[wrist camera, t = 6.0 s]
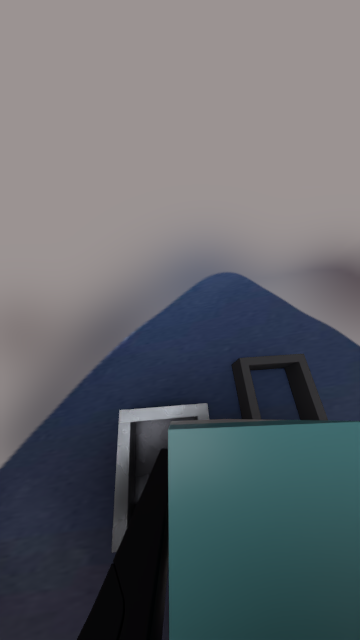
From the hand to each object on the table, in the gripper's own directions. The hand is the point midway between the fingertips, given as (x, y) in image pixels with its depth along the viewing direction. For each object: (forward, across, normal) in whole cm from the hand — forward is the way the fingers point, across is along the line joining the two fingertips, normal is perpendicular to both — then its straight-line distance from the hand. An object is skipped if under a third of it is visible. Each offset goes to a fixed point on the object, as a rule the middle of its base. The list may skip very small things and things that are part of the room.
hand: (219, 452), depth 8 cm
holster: (+12, -9, +8) cm, 16 cm away
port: (+8, +2, +11) cm, 14 cm away
